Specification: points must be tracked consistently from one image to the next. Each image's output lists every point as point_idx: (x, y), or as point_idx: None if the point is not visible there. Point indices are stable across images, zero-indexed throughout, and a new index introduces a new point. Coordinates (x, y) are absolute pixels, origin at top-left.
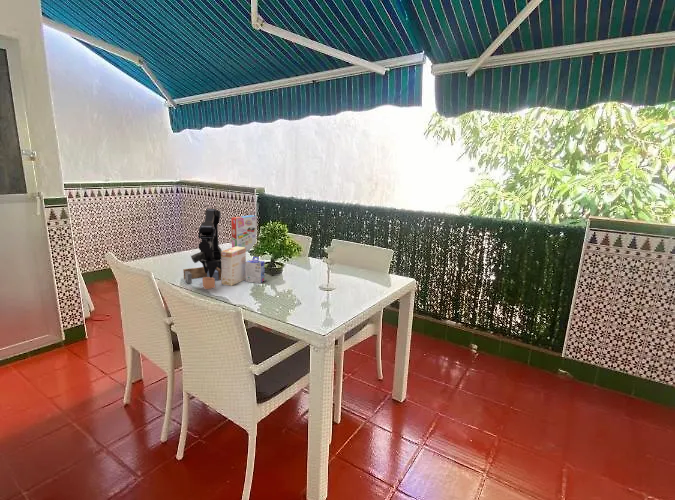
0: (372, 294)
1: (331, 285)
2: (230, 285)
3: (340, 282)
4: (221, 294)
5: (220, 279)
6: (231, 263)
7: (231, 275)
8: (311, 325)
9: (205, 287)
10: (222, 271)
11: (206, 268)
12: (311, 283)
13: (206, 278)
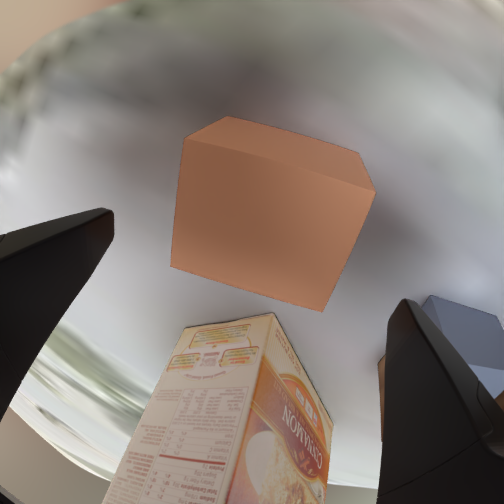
0: (17, 409)
1: (72, 436)
2: (192, 327)
3: (90, 452)
4: (40, 166)
5: (381, 362)
6: (105, 501)
7: (150, 399)
8: None
9: (228, 119)
10: (231, 425)
11: (408, 387)
12: (97, 440)
13: (282, 210)
